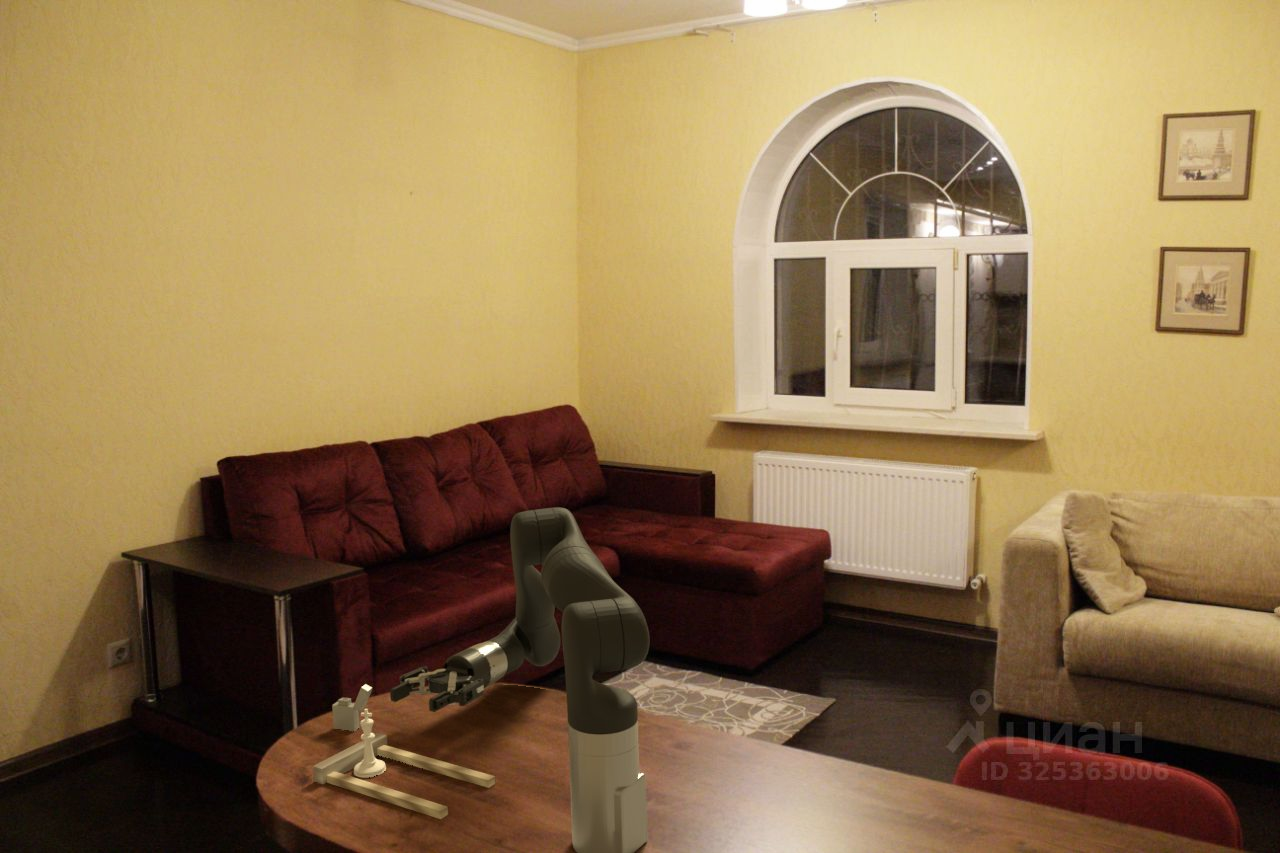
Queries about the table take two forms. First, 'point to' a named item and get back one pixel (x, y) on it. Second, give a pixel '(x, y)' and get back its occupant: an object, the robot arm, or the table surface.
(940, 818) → the table surface
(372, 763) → the chess piece
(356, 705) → the lighter
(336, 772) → the track
